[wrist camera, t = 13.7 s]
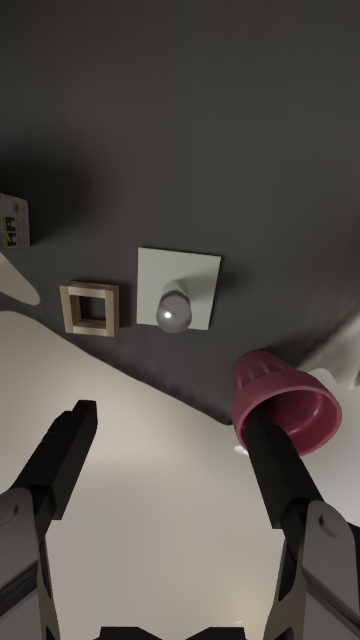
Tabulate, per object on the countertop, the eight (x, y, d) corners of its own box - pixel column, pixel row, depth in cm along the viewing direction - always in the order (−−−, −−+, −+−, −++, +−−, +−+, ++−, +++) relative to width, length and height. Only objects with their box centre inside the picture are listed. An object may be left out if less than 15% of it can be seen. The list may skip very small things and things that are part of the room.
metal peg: (161, 303, 32) (154, 331, 23) (163, 278, 30) (157, 298, 21) (186, 305, 32) (189, 334, 23) (189, 281, 31) (194, 302, 21)
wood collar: (74, 324, 34) (65, 332, 32) (69, 280, 31) (59, 285, 29) (119, 328, 35) (114, 336, 32) (118, 285, 32) (113, 291, 29)
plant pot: (256, 323, 35) (295, 369, 23) (308, 362, 38) (365, 419, 26) (204, 376, 39) (215, 437, 28) (255, 406, 43) (284, 472, 31)
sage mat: (137, 320, 34) (136, 323, 33) (139, 247, 29) (138, 247, 28) (206, 327, 35) (207, 329, 34) (219, 256, 30) (220, 257, 29)
